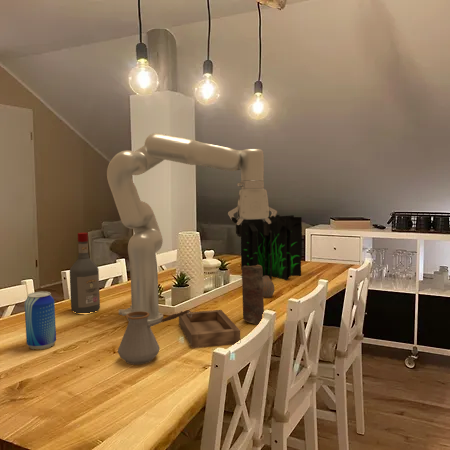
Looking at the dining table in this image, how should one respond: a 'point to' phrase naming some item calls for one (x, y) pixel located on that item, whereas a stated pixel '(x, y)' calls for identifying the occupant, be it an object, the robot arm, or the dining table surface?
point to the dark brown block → (252, 293)
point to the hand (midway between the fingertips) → (252, 235)
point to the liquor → (84, 280)
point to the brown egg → (267, 287)
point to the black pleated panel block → (273, 246)
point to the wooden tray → (209, 328)
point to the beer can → (40, 320)
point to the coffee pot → (141, 338)
